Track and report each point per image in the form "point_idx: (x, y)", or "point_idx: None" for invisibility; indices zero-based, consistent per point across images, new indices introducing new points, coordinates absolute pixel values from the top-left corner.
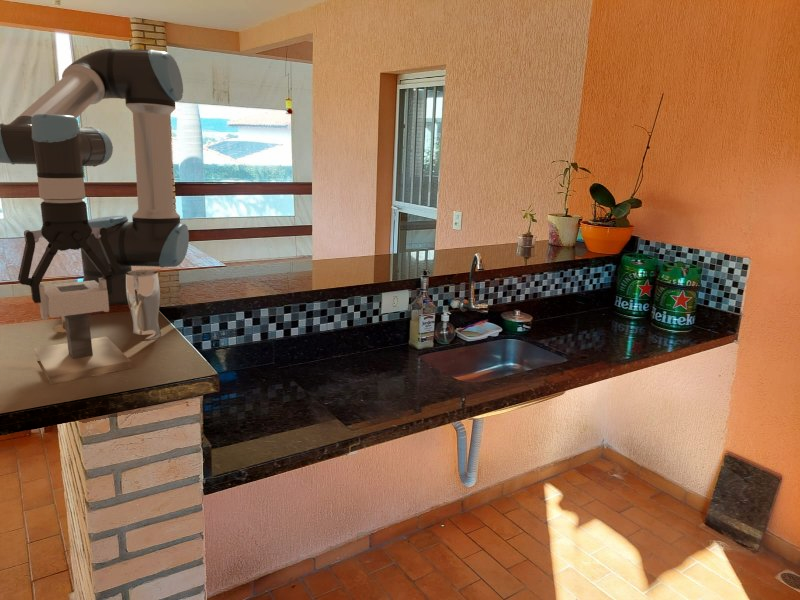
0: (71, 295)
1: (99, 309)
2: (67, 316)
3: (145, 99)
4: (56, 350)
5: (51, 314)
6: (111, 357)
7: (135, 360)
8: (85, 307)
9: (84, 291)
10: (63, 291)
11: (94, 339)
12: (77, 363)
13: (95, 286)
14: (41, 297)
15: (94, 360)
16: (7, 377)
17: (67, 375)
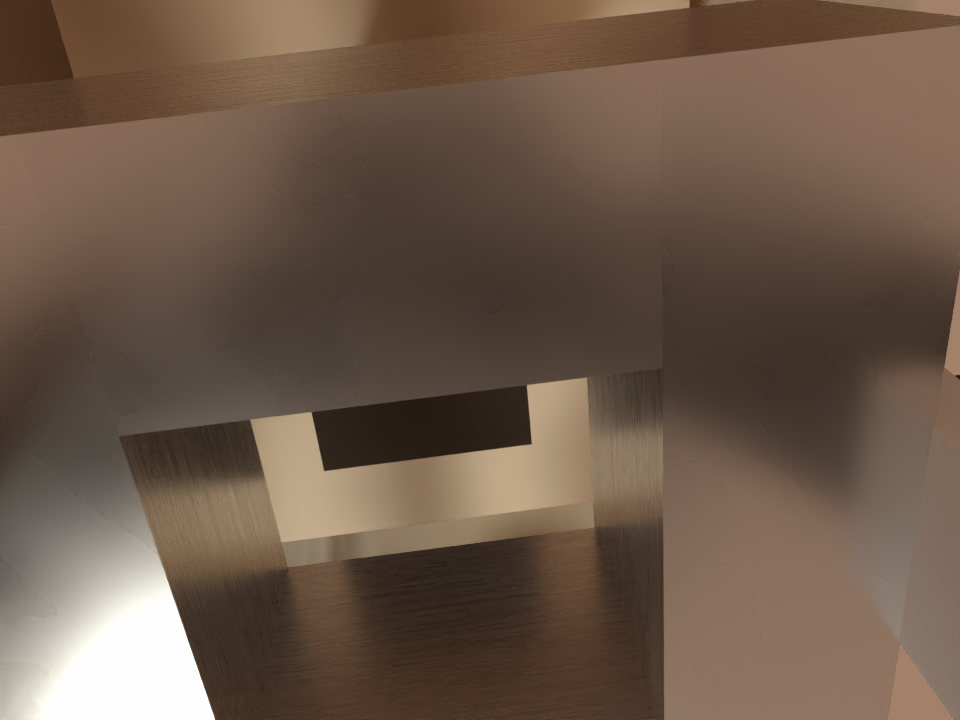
0: (505, 70)
1: (73, 82)
2: (504, 405)
3: None
4: (558, 392)
5: (794, 2)
6: (178, 31)
7: (6, 42)
8: (276, 63)
9: (214, 255)
10: (552, 685)
11: (299, 517)
12: (452, 10)
13: (16, 603)
14: (949, 378)
15: (318, 22)
16: None
17: None
